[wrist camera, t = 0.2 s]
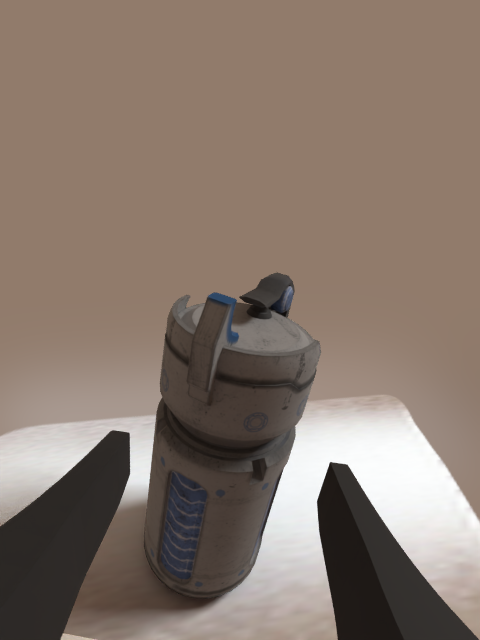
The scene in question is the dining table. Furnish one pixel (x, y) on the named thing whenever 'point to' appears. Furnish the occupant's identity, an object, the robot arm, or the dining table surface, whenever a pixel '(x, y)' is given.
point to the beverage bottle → (223, 433)
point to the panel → (74, 637)
